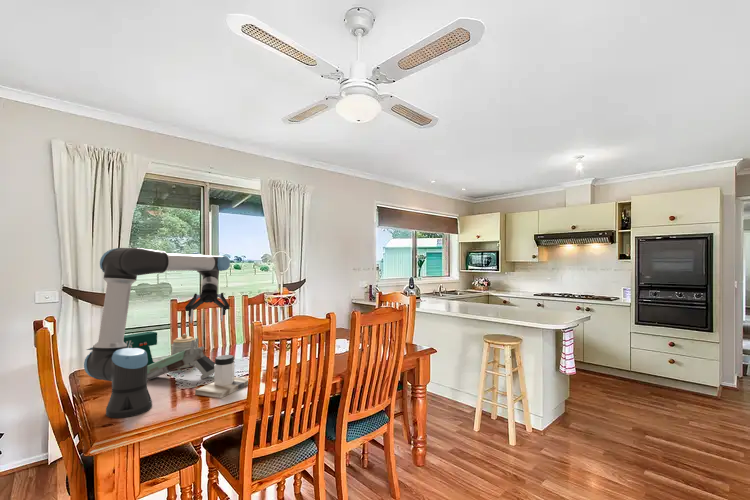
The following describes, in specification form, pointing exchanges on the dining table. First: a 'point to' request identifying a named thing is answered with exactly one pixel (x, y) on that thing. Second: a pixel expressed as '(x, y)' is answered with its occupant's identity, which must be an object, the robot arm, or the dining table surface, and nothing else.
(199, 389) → the board
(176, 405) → the dining table surface
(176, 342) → the jar
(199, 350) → the ray gun
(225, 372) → the jar
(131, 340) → the power tool
